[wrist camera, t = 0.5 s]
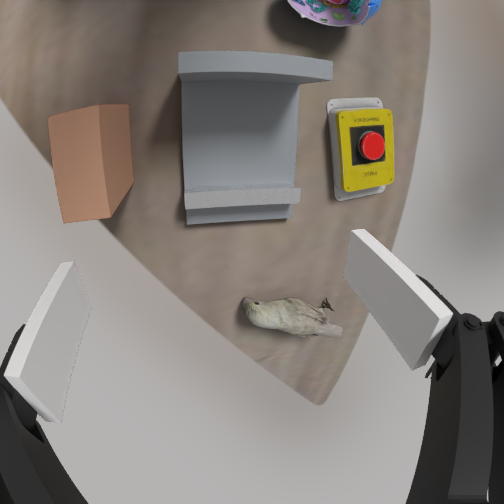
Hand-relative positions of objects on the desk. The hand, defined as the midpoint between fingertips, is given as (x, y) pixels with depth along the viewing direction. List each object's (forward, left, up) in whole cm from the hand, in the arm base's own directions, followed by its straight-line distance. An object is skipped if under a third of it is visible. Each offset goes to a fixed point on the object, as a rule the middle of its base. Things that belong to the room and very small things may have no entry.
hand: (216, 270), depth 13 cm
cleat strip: (+4, +5, -23) cm, 24 cm away
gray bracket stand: (-2, +5, -25) cm, 25 cm away
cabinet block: (-3, -11, -25) cm, 27 cm away
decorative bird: (+24, +13, -25) cm, 37 cm away
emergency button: (-2, +22, -25) cm, 34 cm away
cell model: (-23, +15, -25) cm, 37 cm away
